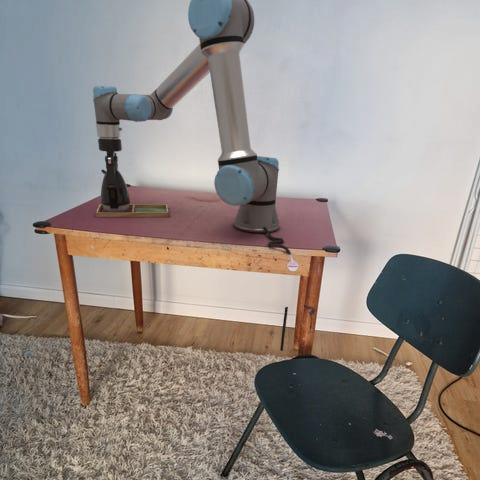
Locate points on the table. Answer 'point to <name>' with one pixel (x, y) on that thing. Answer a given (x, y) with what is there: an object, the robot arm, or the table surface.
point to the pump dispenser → (121, 193)
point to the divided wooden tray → (138, 211)
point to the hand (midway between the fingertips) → (115, 204)
